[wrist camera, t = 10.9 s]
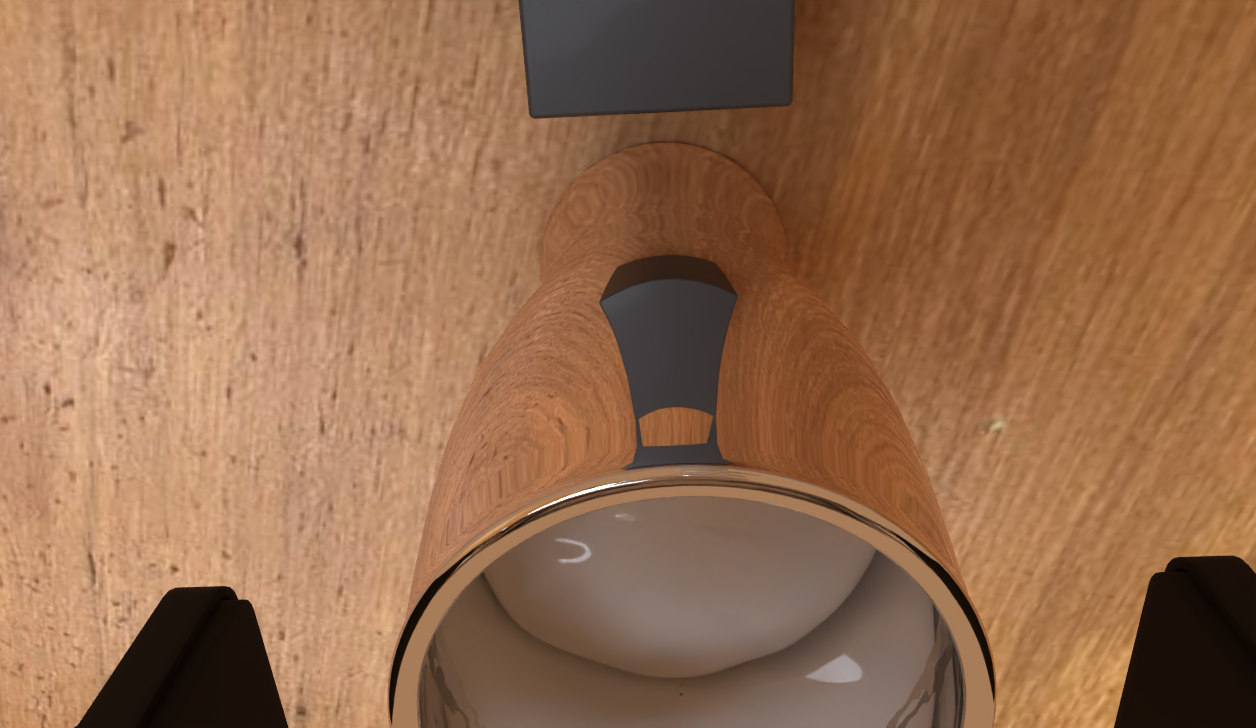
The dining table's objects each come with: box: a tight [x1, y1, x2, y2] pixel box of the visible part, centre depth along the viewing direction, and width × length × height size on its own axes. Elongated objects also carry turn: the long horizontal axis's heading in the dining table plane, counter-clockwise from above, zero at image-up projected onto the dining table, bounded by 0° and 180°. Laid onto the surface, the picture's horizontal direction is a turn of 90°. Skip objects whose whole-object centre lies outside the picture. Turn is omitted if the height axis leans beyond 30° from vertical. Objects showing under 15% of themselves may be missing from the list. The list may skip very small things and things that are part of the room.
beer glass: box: [388, 143, 997, 728], centre depth 17 cm, size 7×7×15 cm
